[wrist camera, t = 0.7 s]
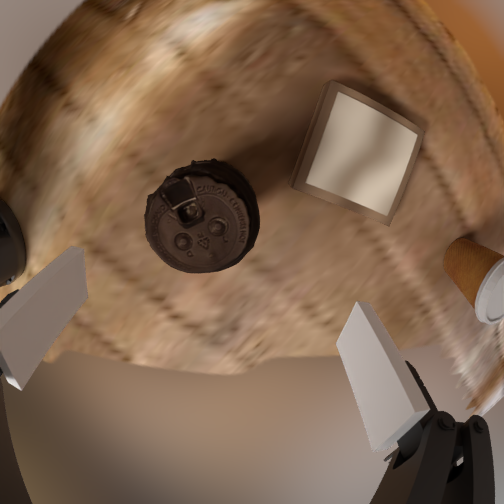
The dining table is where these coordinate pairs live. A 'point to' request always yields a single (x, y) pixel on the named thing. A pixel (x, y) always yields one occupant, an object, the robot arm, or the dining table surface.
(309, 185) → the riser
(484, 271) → the disposable coffee cup
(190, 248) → the coffee cup
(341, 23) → the dining table surface
